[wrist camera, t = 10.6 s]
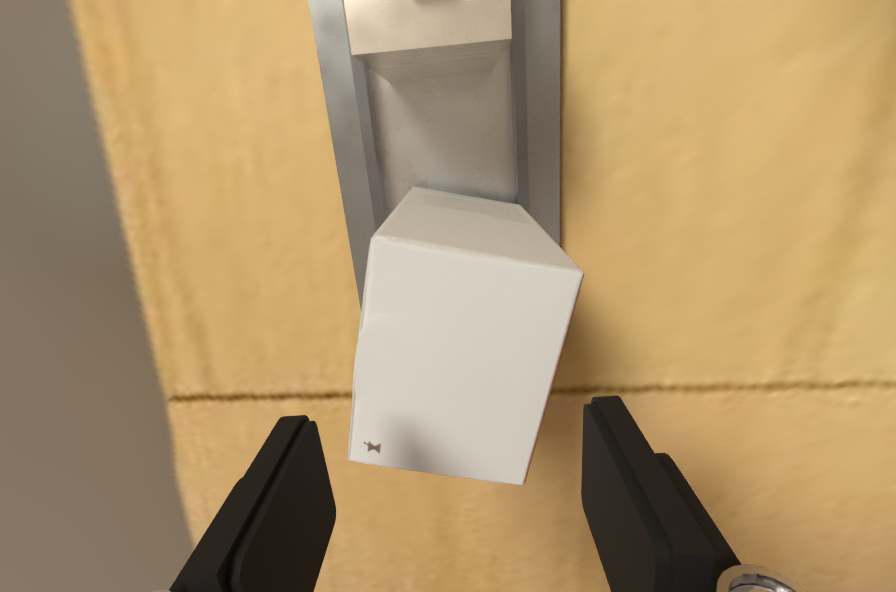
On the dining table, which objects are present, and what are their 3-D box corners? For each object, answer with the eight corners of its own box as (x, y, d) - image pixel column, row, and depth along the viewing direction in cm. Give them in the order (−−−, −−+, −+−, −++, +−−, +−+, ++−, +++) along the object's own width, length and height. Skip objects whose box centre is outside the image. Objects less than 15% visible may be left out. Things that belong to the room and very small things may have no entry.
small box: (495, 331, 27) (525, 493, 15) (394, 315, 27) (341, 466, 15) (524, 201, 24) (590, 270, 12) (411, 182, 24) (363, 232, 12)
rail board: (555, -61, 23) (645, -235, 12) (555, 351, 31) (608, 468, 20) (309, -33, 23) (181, -175, 12) (374, 364, 32) (332, 483, 21)
